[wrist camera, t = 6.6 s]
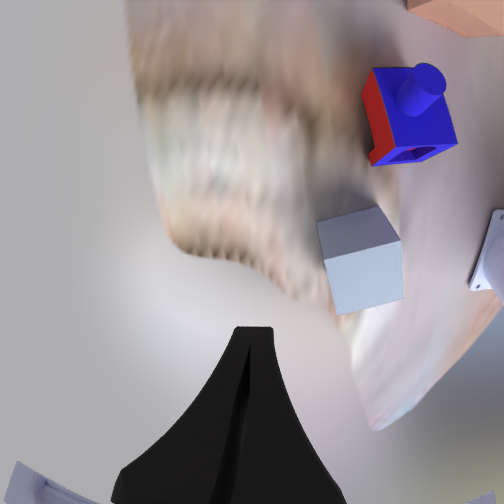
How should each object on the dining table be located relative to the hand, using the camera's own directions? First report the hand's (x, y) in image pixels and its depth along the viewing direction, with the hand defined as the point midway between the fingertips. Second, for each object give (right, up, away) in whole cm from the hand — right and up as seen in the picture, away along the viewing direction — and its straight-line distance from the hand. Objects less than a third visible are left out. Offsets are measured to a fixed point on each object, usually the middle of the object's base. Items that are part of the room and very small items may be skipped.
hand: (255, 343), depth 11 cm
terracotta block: (+11, +19, -1) cm, 23 cm away
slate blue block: (+7, +4, +9) cm, 12 cm away
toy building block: (+8, +12, +4) cm, 15 cm away
